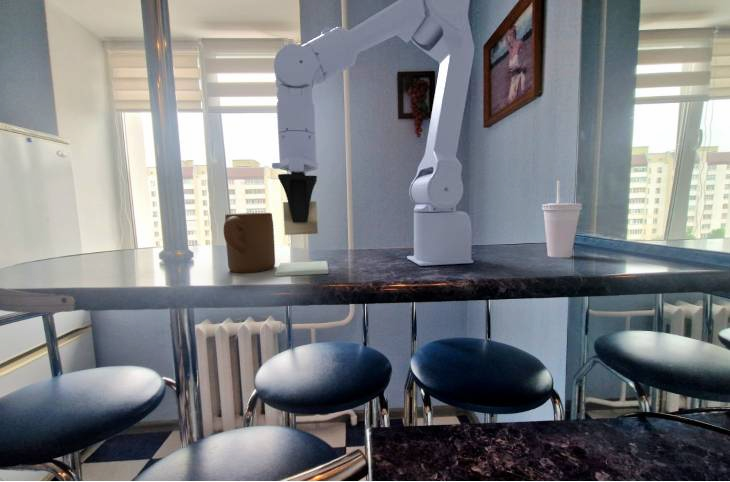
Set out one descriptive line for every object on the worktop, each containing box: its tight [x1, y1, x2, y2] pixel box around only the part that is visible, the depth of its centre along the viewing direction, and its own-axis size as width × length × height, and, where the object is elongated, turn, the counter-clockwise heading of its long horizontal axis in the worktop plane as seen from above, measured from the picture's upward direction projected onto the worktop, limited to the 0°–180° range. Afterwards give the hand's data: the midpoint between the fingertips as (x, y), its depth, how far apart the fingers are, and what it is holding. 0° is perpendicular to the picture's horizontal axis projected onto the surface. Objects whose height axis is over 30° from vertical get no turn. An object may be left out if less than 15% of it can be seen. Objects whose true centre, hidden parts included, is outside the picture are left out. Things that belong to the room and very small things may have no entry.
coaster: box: [274, 260, 330, 277], centre depth 53 cm, size 8×8×1 cm
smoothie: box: [541, 180, 583, 259], centre depth 59 cm, size 6×6×14 cm
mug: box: [223, 212, 276, 274], centre depth 52 cm, size 12×8×9 cm, turn 178°
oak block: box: [282, 200, 319, 236], centre depth 52 cm, size 5×5×5 cm
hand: (300, 221), depth 52 cm, fingers closed on oak block, 5 cm apart
